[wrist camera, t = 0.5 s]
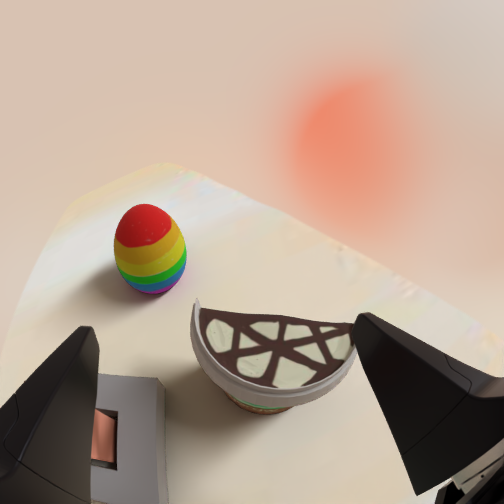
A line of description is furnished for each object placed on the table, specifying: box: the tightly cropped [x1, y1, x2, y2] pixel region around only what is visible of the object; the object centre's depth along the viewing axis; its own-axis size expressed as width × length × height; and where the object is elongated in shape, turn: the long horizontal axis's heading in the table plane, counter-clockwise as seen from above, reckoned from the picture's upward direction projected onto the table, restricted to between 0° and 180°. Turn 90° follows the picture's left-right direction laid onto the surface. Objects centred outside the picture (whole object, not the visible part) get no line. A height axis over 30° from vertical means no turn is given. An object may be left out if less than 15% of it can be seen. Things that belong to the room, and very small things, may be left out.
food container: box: [190, 298, 357, 414], centre depth 19 cm, size 12×6×10 cm, turn 84°
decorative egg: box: [114, 204, 186, 294], centre depth 28 cm, size 8×8×10 cm
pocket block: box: [91, 373, 169, 504], centre depth 16 cm, size 12×12×3 cm
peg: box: [24, 381, 118, 463], centre depth 14 cm, size 4×4×10 cm
